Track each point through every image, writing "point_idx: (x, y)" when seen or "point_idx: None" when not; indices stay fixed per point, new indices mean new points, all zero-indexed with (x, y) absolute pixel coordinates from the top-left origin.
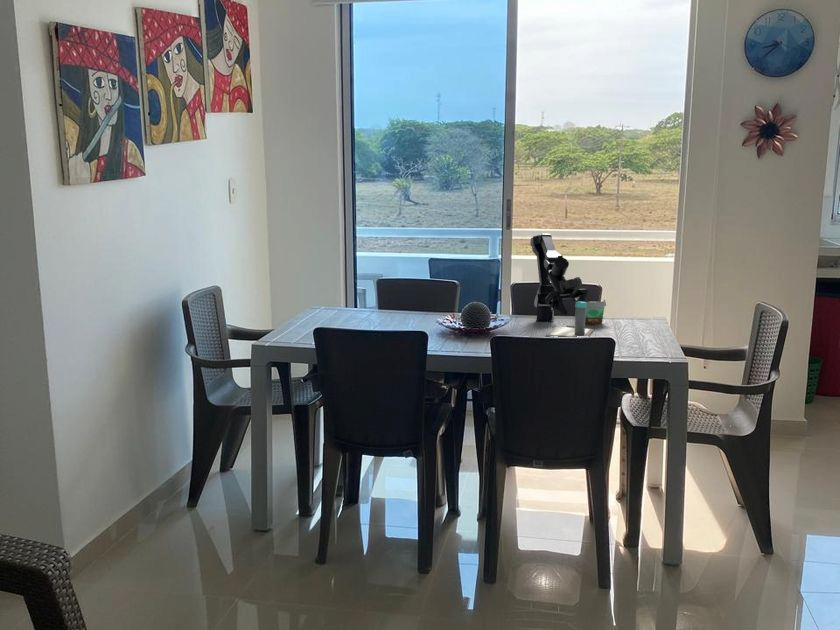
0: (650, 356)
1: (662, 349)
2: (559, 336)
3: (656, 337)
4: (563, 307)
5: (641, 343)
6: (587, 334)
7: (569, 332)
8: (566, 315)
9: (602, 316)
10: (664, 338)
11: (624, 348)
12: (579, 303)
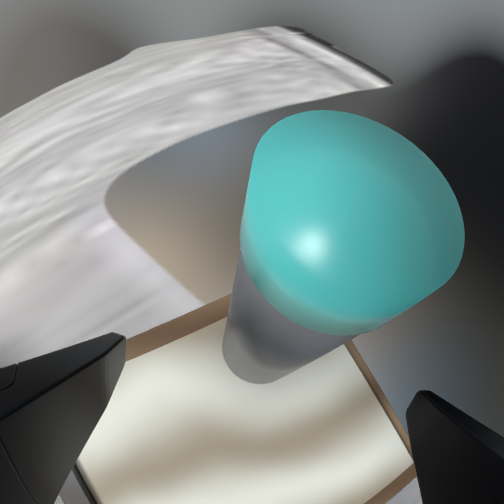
0: (292, 53)
1: (192, 54)
2: (389, 404)
3: (30, 120)
4: (490, 435)
5: (155, 99)
6: (191, 325)
7: (261, 439)
8: (411, 407)
9: None
10: (36, 103)
11: (277, 103)
12: (436, 173)
